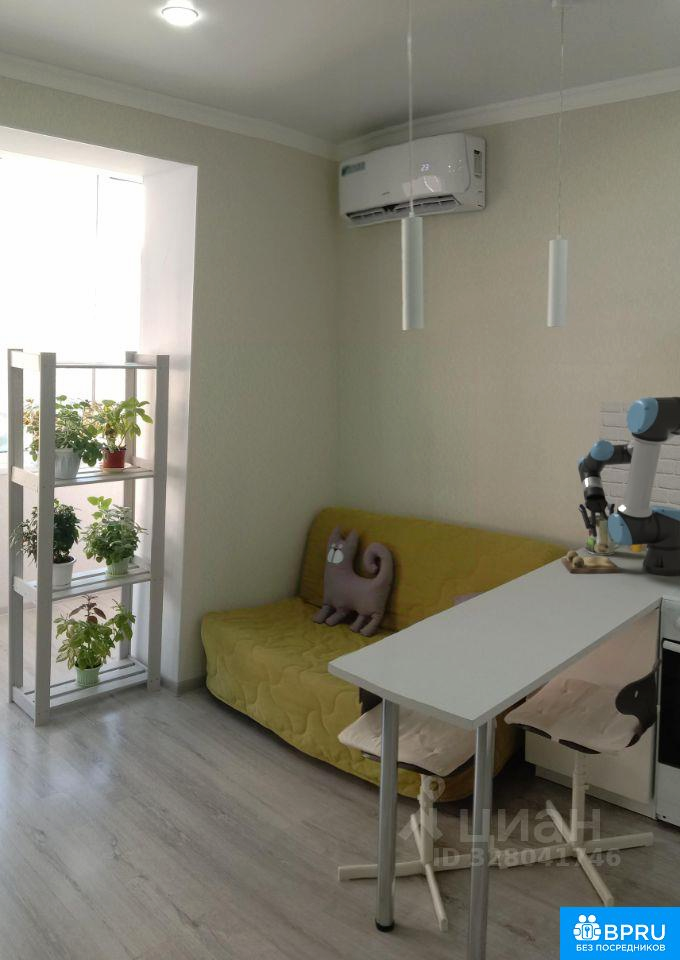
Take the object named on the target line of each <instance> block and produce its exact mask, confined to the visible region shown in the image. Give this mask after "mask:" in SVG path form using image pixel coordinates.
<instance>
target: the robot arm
mask: <svg viewBox="0 0 680 960" xmlns="http://www.w3.org/2000/svg"><path fill="white" fill-rule="evenodd" d="M626 422H627V423H626V425H627V428H628V430H629V431H630V433H631V436H632V438H633V439H632V440H630V441H628V442H627V443H625V444H623V443H622V444H613V443H611V442H610V441H609V440H608V441H606V440H604V439H600V440H596V442H595V443H594V444H593V446H592V447H591V448H590V450H589V452H588V454H587V455H583V456H582V457H581V458H579V459H578V462H577V469H578V473H579V479H580V483H581V487H582V493H583V499H584V503H580V504H579V505H578V511H580V513H581V516H582V519H583V522H584V526H585V529H586V530H589V529H591V531H592V533H593V537H596V540H597V545H598V546H600V543H601V538H600V534H599V529H598V527H596V515H597V514H599V515H600V516H601V517H602V518H604V519H606V520H607V545H610V543H611V539H610V537H611V538H612V539H613V541H614V542H615V544H616V545H618V546H628V547H631V546H634V545H635V546H636V545H637V546H638V545H647V551H646V553H645V556H644V557H643V558H644V559H643V562H642V567H641V569H642V570H643V571H644V572H647V573H649V574H651V575H652V574H653V575H658V576H659V575H660V576H680V509H679V508H674V507H669V506H662V505H651V506H650V503H651V498H652V494H653V488H654V483H655V478H656V473H657V468H658V464H659V460H660V459H659V458H660V453H661V450H662V449H661V448H662V445H663V444H664V443H667V442H668V441H670V440H671V439H672V438H674V437H675V436H680V396H665V397H664V396H663V397H651V396H649V397H643V398H639V399H636V400H635V401H634V402H633V403H632V404H631V405H630V406H629V408H628V410H627V414H626ZM615 465H630V466H629V468H628V469H629V470H628V474H627V475H628V476H627V480H626V486H625V491H624V497H623V501H622V502H620V503H619V504H618V505H617V510H616V512H615V506H616V503H608V500H607V498H606V495H605V491H604V484H603V481H602V476H601V473H602V471H603V470H604V468H605V467H606V466H615ZM606 509H608V512H609V514H608V515H607V513H606ZM587 510H588V511H590V516H591V524H590V521H589V514H588V513H587ZM607 516H609V518H608V517H607Z"/></svg>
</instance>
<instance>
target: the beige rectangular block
mask: <svg viewBox="0 0 680 960" xmlns="http://www.w3.org/2000/svg"><path fill="white" fill-rule="evenodd" d="M596 527H598V529H599V534H600V538H601V543H600V546H598V545H597V540H596V543H595V545H594V550H595V551H596V552H597V553H609V548H608V545H607V520H606V519H604V518H596Z"/></svg>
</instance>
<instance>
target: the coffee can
mask: <svg viewBox="0 0 680 960" xmlns="http://www.w3.org/2000/svg"><path fill="white" fill-rule="evenodd" d="M595 515H596V518H602V517H601V516H600V514H599V515H597V514H595ZM609 516H610V515H607V517H608V518H609ZM588 518H589V521H590V524H591V515H590V516H588ZM587 537H588V538H587V539H588V542H587V543H588V545H587V546H588V547H587V553H588V552H589V553H588V554H590V553H591V555H595V556H612V555H611V554H613V555H614V554H615V547H616V546H615V544H616V543H615V542H614V541H613V539H612V538H611V537H610V539H611V543H610V545H608V548H609V553H597V552H596V551H595V550H594V545H595V543H596V537H593V533H592V531H591V529H588V536H587Z"/></svg>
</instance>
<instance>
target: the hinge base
mask: <svg viewBox="0 0 680 960" xmlns="http://www.w3.org/2000/svg"><path fill="white" fill-rule="evenodd" d="M566 553H567V554H566V558H561V563H562V566H564V567H565V568H566V569H567V571H568V572H569V573H570V574H603V573H604V574H605V573H608V574H610V573H613V574H614V573H616V574H619V573H621V568H620V567H619V566H618V565H617V563H615V562H614V561H612V560H611V559H610V558H609V557H606V556H588V557H587V556H584V557H583V556H582V557H581V556H579V553H577V551H576V550H574V549H573V550H572V549H570V550H569V551H568V552H566Z"/></svg>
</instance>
